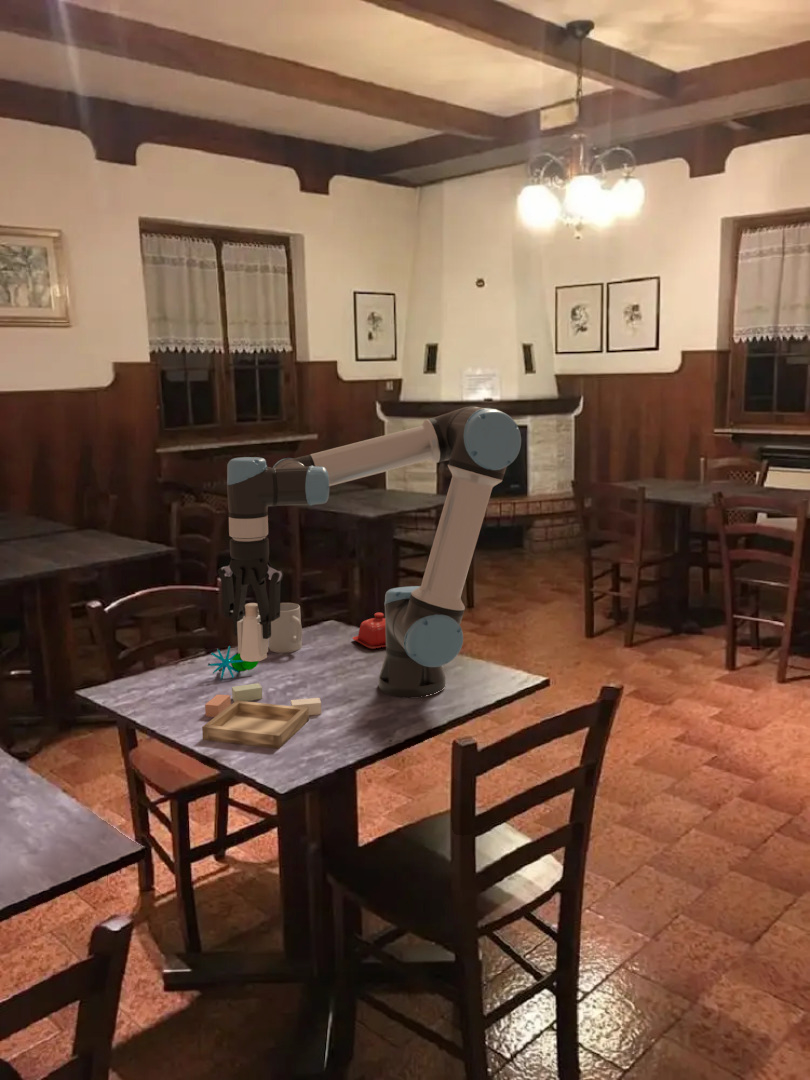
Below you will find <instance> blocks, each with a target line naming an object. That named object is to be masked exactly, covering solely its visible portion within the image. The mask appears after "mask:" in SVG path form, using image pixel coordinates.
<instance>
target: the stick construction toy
mask: <svg viewBox="0 0 810 1080" xmlns="http://www.w3.org/2000/svg"><path fill="white" fill-rule="evenodd" d="M216 650H217V653H218V654H216V653H214V652H211V653H210V654H209V655H210V656H214V657H215V658H216V659H218V660H219V661H220V662H215V663H210V662H209V663H208V664H207V667H217V668H215V669H214V670H213V671H212V675H214V674H215V673H216V672H219V673H220V674H221V675H220V681H223V680H224V676H225V671H226V668H227V670H228V673H230V676H231V679H234V677H235V675H234V673H233V672H236V673H237V674H240V673H241V672H242V673H243V672H246V671H251V670H253V669H255V668H256V667H257V665H258V664H259V661H254V662H249V661H243V660H242V659H241V657H240V654H241V653H238V652H236V653H235V654H233V655H232V656H231V657H230V651H231V646H230V645H229V646H228V647H227V651H226V655H225V658H224V656H223V654H222V652H221V651H220V647H218V648H217V649H216Z"/></svg>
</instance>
